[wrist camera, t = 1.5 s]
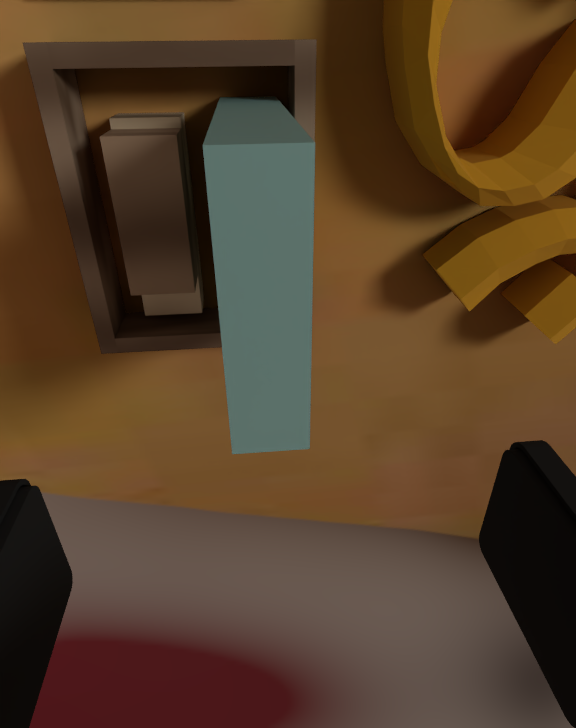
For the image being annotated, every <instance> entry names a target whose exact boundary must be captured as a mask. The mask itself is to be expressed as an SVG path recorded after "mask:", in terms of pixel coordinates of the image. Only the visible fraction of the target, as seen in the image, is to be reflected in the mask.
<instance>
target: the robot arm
mask: <svg viewBox="0 0 576 728" xmlns="http://www.w3.org/2000/svg"><path fill="white" fill-rule="evenodd" d="M479 543H480V548H481V551H482V553H483V555H484V557H485V559H486V561H487V563H488V565H489V567H490V569H491V571H492V573H493V575H494V577H495V579H496V581H497V583H498V585H499V587H500V589H501V591H502V593H503V595H504V597H505V599H506V601H507V603H508V605H509V607H510V609H511V611H512V612H513V615H514V617H515V619H516V620H517V622H518V624H519V626H520V628H521V630H522V632H523V634H524V636H525V638H526V640H527V642H528V644H529V646H530V648H531V650H532V652H533V654H534V656H535V658H536V660H537V662H538V664H539V666H540V668H541V670H542V672H543V674H544V676H545V678H546V680H547V682H548V684H549V685H550V688H551V689H552V692H553V694H554V696H555V698H556V699H557V701H558V703H559V705H560V707H561V709H562V711H563V713H564V715H565V717H566V718H567V720H568V721H569V723H570V724H571V725H572V726H573V727H574V728H576V477H575V475H574V474H573V473H572V472H571V471H570V469H569V468H568V467H567V466H566V464H565V463H564V462H563V461H562V460H561V458H560V457H559V456H558V455H557V454H556V452H555V451H554V450H553V449H552V447H551V446H550V445H549V444H548V443H547V442H545V441H542V440H540V441H527V442H515V443H513V444H512V445H511V447H510V450H506V451H505V452H504V453H503V456H502V459H501V462H500V466H499V469H498V473H497V476H496V480H495V483H494V486H493V490H492V493H491V497H490V500H489V504H488V507H487V510H486V514H485V517H484V521H483V524H482V528H481V531H480V535H479ZM71 588H72V571H71V569H70V566H69V563H68V561H67V558H66V556H65V553H64V550H63V548H62V545H61V543H60V540H59V538H58V535H57V533H56V530H55V527H54V525H53V522H52V520H51V517H50V515H49V512H48V509H47V507H46V505H45V502H44V499H43V497H42V494H41V492H40V489H39V488H38V487H37V486H31V485H30V483H29V481H28V480H26V479H17V480H3V481H0V728H29V726H30V723H31V719H32V716H33V713H34V709H35V706H36V703H37V700H38V696H39V693H40V690H41V687H42V683H43V680H44V677H45V674H46V670H47V667H48V664H49V660H50V657H51V654H52V651H53V648H54V644H55V641H56V638H57V635H58V631H59V628H60V625H61V622H62V618H63V615H64V612H65V609H66V605H67V602H68V599H69V596H70V592H71Z"/></svg>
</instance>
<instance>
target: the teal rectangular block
mask: <svg viewBox="0 0 576 728" xmlns="http://www.w3.org/2000/svg"><path fill="white" fill-rule="evenodd" d="M203 155H204V165H205V175H206V186H207V196H208V207H209V217H210V227H211V238H212V248H213V258H214V269H215V279H216V289H217V300H218V310H219V320H220V331H221V341H222V352H223V362H224V372H225V383H226V393H227V403H228V414H229V424H230V434H231V445H232V454H241V453H255V452H270V451H284V450H299V449H310V399H311V343H312V288H313V233H314V178H315V142H314V141H313V139H312V138H311V137H310V136H309V135H308V134H307V132H306V131H305V130H304V129H303V128H302V127H301V125H300V124H299V123H298V122H297V121H296V120H295V118H294V117H293V116H292V115H291V114H290V113H289V112H288V110H287V109H286V108H285V107H284V106H283V105H282V103H281V102H280V101H279V100H278V99H277V98H276V96H269V97H220V99H219V101H218V104H217V107H216V110H215V112H214V115H213V118H212V121H211V123H210V126H209V129H208V132H207V134H206V137H205V140H204V143H203Z"/></svg>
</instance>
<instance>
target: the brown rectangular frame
mask: <svg viewBox="0 0 576 728" xmlns="http://www.w3.org/2000/svg"><path fill="white" fill-rule="evenodd" d="M23 46H24V50H25V54H26V58H27V62H28V66H29V70H30V74H31V78H32V82H33V86H34V89H35V93H36V97H37V101H38V105H39V109H40V113H41V117H42V121H43V125H44V129H45V133H46V137H47V141H48V145H49V149H50V153H51V157H52V160H53V164H54V168H55V172H56V176H57V180H58V184H59V188H60V192H61V196H62V200H63V204H64V208H65V212H66V216H67V220H68V224H69V227H70V231H71V235H72V239H73V243H74V247H75V251H76V255H77V259H78V263H79V267H80V271H81V275H82V279H83V283H84V287H85V291H86V295H87V298H88V302H89V306H90V310H91V314H92V318H93V322H94V326H95V330H96V334H97V338H98V342H99V346H100V350H101V354H105V353H123V352H142V351H160V350H179V349H197V348H216V347H222V341H221V331H220V320H219V310H218V308H213V309H203V310H202V313H190V314H169V315H148V316H145V312H131V313H126V312H125V307H124V302H123V297H122V293H121V288H120V283H119V279H118V274H117V269H116V264H115V260H114V255H113V250H112V245H111V241H110V236H109V231H108V226H107V222H106V217H105V212H104V207H103V203H102V198H101V193H100V188H99V184H98V179H97V174H96V170H95V165H94V160H93V155H92V151H91V146H90V141H89V136H88V132H87V127H86V122H85V117H84V113H83V108H82V103H81V98H80V94H79V89H78V84H77V79H76V75H75V70H74V69H82V68H152V67H222V66H288V112H289V113H290V114H291V115H292V116H293V117H294V118H295V120H296V121H297V122H298V123H299V124H300V125H301V127H302V128H303V129H304V130H305V131H306V132H307V134H308V135H309V136H310V137H311V138H312V139H313V141H314V142H315V94H316V40H225V41H131V42H37V43H23Z"/></svg>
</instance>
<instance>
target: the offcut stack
mask: <svg viewBox="0 0 576 728" xmlns="http://www.w3.org/2000/svg"><path fill="white" fill-rule="evenodd" d="M109 121H110V126H111V130H109V131H108V132H106V133H105V134H103V135H101V136H100V141H101V146H102V151H103V156H104V162H105V167H106V172H107V177H108V182H109V187H110V192H111V197H112V202H113V207H114V212H115V217H116V223H117V228H118V233H119V238H120V243H121V248H122V253H123V258H124V263H125V268H126V273H127V278H128V284H129V289H130V294H131V295H142V300H143V306H144V311H145V316H148V315H169V314H190V313H202V310H203V303H204V292H203V282H202V273H201V264H200V255H199V246H198V237H197V227H196V218H195V209H194V200H193V191H192V181H191V172H190V163H189V154H188V145H187V136H186V126H185V117H184V112H176V113H118V114H116V115H114V116H113V117H111V118H109Z"/></svg>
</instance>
